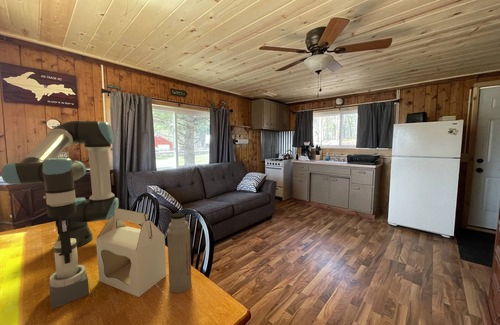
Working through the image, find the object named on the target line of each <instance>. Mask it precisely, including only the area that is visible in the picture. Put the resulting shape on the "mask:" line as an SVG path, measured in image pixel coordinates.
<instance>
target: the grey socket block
mask: <svg viewBox="0 0 500 325" xmlns="http://www.w3.org/2000/svg"><path fill="white" fill-rule="evenodd" d="M78 267H79V272H78V274H76V275H75V276H73V277H70V278H67V279H63V280H58V279H57V275H56V271H55V272H54V273H52V274H51V275H50V276H49V277H48V278H49V282H48V284H49V301H50V302H49V303H50V308H51V310H53V309H56V308H58V307H61V306H64V305H65V304H68V303H71V302H73V301H76V300H78V299H81V298H84V297H86V296H89V295H90V288H89V278H88V274H87V271H86V267H85V265H83V264H78Z"/></svg>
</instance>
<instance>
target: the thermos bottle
mask: <svg viewBox="0 0 500 325" xmlns="http://www.w3.org/2000/svg"><path fill="white" fill-rule="evenodd" d="M170 218H171V220H170V221H171V222H169V224H168V228H167V230H166V234H167V235H166V236H167V237H166V238H167V258H168V259H167V260H168V263H167V264H168V283H169V286H168V287H169V288H168V289H169V290H170V292H172V293H174V294H182V293H184V292H187V291H188V290H189V289H190V288H191V286H192V263H191V262H192V258H191V257H192V255H191V254H192V253H191V228H190V226H189V222H188V221H187V220H186V213H184V212H175V213H172V214H170Z"/></svg>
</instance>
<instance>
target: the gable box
mask: <svg viewBox="0 0 500 325" xmlns="http://www.w3.org/2000/svg"><path fill="white" fill-rule="evenodd" d="M149 216H150V215H149V214H145V213H144V212H141V211H134V210H129V209H124V208H119V207H118V208H116V209H115V215H111V217H110V218H109V220H106V223H105V224H104V226H103V228H102V229H101V231H100V232H99V234H98V235H97V237H96V238H95V243H96V255H97V269H98V281H99V282H100V283H102V284H106V285H108V286H110V287H114V288H116V289H118V290H120V291H123V292H125V293H128V294H130V295H133V296H134V297H138V298H140V297H141V296H142V295H143V294H145V293H146V292H147V291H149V290H151V288H152V287H153V286H155V285H156V284H158V283H159V282H161V280H163V279H164V278H165V277H166V276H167V259H166V258H167V257H166V240H165V239H166V238H165V237H166V236H165V234H164V232H162V231H161V230H160V229H159V227H157V226H156V225H155V224H154V223H153V221H152V220H148V219H149ZM125 222H129V223H132V224H136V225H137V224H138V225H141V227H140V228H138V227H137V228H136V227H132V226H127V225H126V223H125Z"/></svg>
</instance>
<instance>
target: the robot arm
mask: <svg viewBox="0 0 500 325" xmlns="http://www.w3.org/2000/svg"><path fill="white" fill-rule="evenodd" d="M114 135H115V134H114V131H113V129H112V126H111V124H110V123H109V122H107V121H100V120H99V121H98V120H96V121H95V120H94V121H93V120H71V121H65V122H64V123H61V124H58V125H57V126H55V127H53V128H51V129H50V130H49V131H48V132H47V134H46V138H44V140H42V141H41V142H40V143H39V144H38V145H37V146H36V147H35V148H34V149H33V150H32V151H31V152H29V153H28V154H27V155H26V156H25V157H24V158H23V159H22V160H21V161H20V162H11V163H5V164H4V165H3V166H2V167H1V171H0V175H1V178H2V180H3V181H4V182H5V183H6V184H8V185H25V184H28V185H29V184H39V183H40V184H43V183H44V184H43V185H44V193H45V195H43V197H42V198H43V199H45V201H46V205H47V206H46V214H47V215H46V216H47V217H49V218H57V219H55V220H54V221H55V227H56V230H57V235H58V236H57V239H56V242H58V241H60V240H61V251H62V252H61V254H59V256H61V257H62V267H63V273H65V272H68V271H71V270H73V260H72V250H71V240H70V238H75V239H76V243H77V248H78V247H80V246H84V245H86V244H88V243H90V242H91V241H92V240H93V238H94V236H93V233H92V231H91V229H90V227H89V224H88V223H89V222H101V221H108V220H109V218H110V217H111V215H115V209H116V208H119V204H120V203H119V202H120V201H119V198H118V197H116V196H115V194H114V193H113V192H112V186H111V173H110V159H109V149H111V147H112V144H115V136H114ZM73 144H81V145H83V146H84V147H83V148H84V149H86V150H87V151H88V161H89V162H88V163H89V172H90V183H91V192H92V193H91V195H90V196H89V197H88V200H87V199H86V197H76V189H75V181H78V180H80V179H82V177H84V176H85V174H86V173H87V167H86V165H85V164H84V163H83V162H81V161H80V160H72V159H71V158H69V157H59V155H61V153H63V151H64V149H65V148H67V147H69V146H71V145H73Z"/></svg>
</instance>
